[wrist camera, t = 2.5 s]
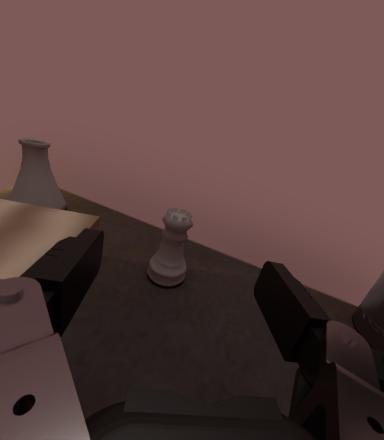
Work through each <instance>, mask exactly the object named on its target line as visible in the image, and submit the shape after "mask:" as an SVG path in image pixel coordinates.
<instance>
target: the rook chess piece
mask: <svg viewBox="0 0 384 440" xmlns="http://www.w3.org/2000/svg"><path fill="white" fill-rule="evenodd" d="M171 211H172V212H171ZM162 220H163V222H164V224H165V229H164V230H162V234H163V239H162V242H161V245H160V247H159V250H158V251H157V252H156V253H155V255H154V256H153V257H152V258H151V260H150V262H149V267H148V269H147V273H148V275H149V277H150V279H151V280H152V281H153V282H155V283H156V284H158V285H160V286H165V287H171V286H176V285H177V284H179V283H181V282H182V281H183V280H184V278H185V272H186V263H185V260H184V257H183V250H184V243H185V240H186V239H187V238H188V235H187V230H188V229H190V228H191V227H192V226H193V223H192V221H191V213H189V212H187V215H185V210H183V209H181V212H180V213H178V212H177V208H173V210H171V209H168V211H167V214H166V215H165V216H164V217H163V218H162Z"/></svg>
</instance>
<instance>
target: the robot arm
mask: <svg viewBox="0 0 384 440" xmlns="http://www.w3.org/2000/svg"><path fill="white" fill-rule="evenodd" d="M103 239H104V232H103V231H101V230H95V229H89V228H85V229H83V230H82V232H81V233H80V234H79V235H78V236H77V237H71V236H69V237H67V238H65V239H62V240H60V241H58V242H57V243H56V244H55V245H54V246H53V247H51V249H49V250H48V251H47V252H46V253H45V254H44V256H42V257H40V258H39V259H38V260H37V261H36V262H35V263H34V264H33V265H32V266H30V267H29V268H28V269H27V270H26V271H25V272H24V273H23V274H22V275H21V276H19V277H13V278H7V279H3V280H0V440H384V271H383V273H382V274H381V276H380V277H379V278H378V280H377V281H376V283H375V284H374V286H373V287H372V288H371V290H370V291H369V292H368V294H367V296H366V297H365V298H364V300H363V301H362V303H361V304H360V305H359V307H358V308H357V310H356V311H355V313H354V314H353V321H354V324H355V326H356V328H357V330H358V331H359V333H360V334H361V335H362V336H363V337H362V336H361V335H360V334H359V333H357V332H356V331H355V330H353V329H352V328H350V327H349V326H347V325H345V324H343V323H340V322H337V321H332V320H331V319H330V318H329V316H328V315H327V314H326V313H325V312H324V310H323V309H322V308H321V307H320V306H319V304H318V303H317V302H316V301H315V299H313V298H312V296H311V295H310V293H309V292H307V290H306V289H305V287H304V286H303V285H302V284H301V282H299V281H298V280H297V279H296V278H294V277H293V276H292V275H291V273H290V272H289V271H288V270H287V268H286V267H285V266H284V265H283V264H281V263H276V262H270V261H267V262H266V263H265V264H264V265H263V268H262V270H261V272H260V275H259V277H258V279H257V282H256V284H255V287H254V296H255V299H256V301H257V303H258V305H259V308H260V310H261V312H262V314H263V316H264V318H265V320H266V322H267V324H268V327H269V329H270V331H271V333H272V335H273V337H274V339H275V341H276V344H277V346H278V348H279V350H280V352H281V354H282V356H283V358H284V361H288V362H297V363H298V364H299V368H298V369H297V371H296V375H295V381H294V387H293V393H292V399H291V406H290V412H289V416H288V417H287V416H285V415H283V414H281V412H280V410H279V407H278V404H277V401H276V399H275V398H267V397H254V396H239V397H235V398H232V399H228V400H225V401H221V402H217V403H214V404H210V405H205V404H202V403H199V402H197V401H194V400H192V399H189V398H187V397H184V396H181V395H179V394H176V393H174V392H171V391H168V390H160V389H146V388H133V387H128V390H127V395H126V400H125V401H124V402H120V403H116V404H113V405H111V406H108V407H106V408H104V409H102V410H100V411H98V412H96V413H95V414H93V415H92V416H90V417H89V418H87V419H86V420H84V416H83V413H82V410H81V406H80V403H79V399H78V396H77V393H76V389H75V386H74V383H73V379H72V376H71V372H70V369H69V366H68V362H67V359H66V355H65V352H64V349H63V345H62V342H61V339H60V337H62V335H63V333H64V331H65V330H66V328H67V326H68V324H69V323H70V321H71V319H72V317H73V316H74V314H75V312H76V310H77V309H78V307H79V305H80V303H81V302H82V300H83V298H84V296H85V294H86V293H87V291H88V289H89V287H90V286H91V284H92V282H93V280H94V279H95V277H96V275H97V273H98V271H99V268H100V265H101V259H102V249H103ZM367 342H368V343H369V344H370V345H371V346H372V347H373V348H374V349H373V348H370V346H369V344H368V343H367Z"/></svg>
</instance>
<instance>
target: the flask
mask: <svg viewBox="0 0 384 440" xmlns="http://www.w3.org/2000/svg"><path fill="white" fill-rule="evenodd" d="M19 143H20V144H21V145H22V153H23V156H22V163H21V169H20V172H19V174H18V177H17V180H16V182H15V185H14V188H13V190H12V192H11V195H10V197H9V199H8V200H9V201H15V202H20V203H26V204H32V205H37V206H43V207H48V208H54V209H59V210H66V208H67V205H66V202H65V200H64V198H63V196H62V194H61V192H60V190H59V188H58V186H57V183H56V181H55V178H54V176H53V174H52V171H51V168H50V164H49V160H48V148H49V147H50V143H48V142H44V141H40V140H36V139H26V138H23V139H19Z"/></svg>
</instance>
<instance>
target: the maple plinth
mask: <svg viewBox="0 0 384 440" xmlns="http://www.w3.org/2000/svg"><path fill="white" fill-rule="evenodd" d="M99 220H100V217H98V216H93V215H87V214H82V213H76V212H71V211H65V210H59V209H54V208H48V207H43V206H37V205H32V204H26V203H20V202H15V201H9V200H4V199H0V280H3V279H7V278H13V277H19V276H21V275H22V274H23V273H24V272H25V271H26V270H27V269H28V268H29V267H30V266H32V265H33V264H34V263H35V262H36V261H37V260H38V259H39V258H40V257H42V256H44V254H45V253H46V252H47V251H48V250H49V249H51V247H53V246H54V245H55V244H56V243H57V242H58V241H60V240H62V239H65V238H67V237H69V236H71V237H77V236H78V235H79V234H80V233H81V232H82V230H83V229H85V228H89V229H95V230H99Z"/></svg>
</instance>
